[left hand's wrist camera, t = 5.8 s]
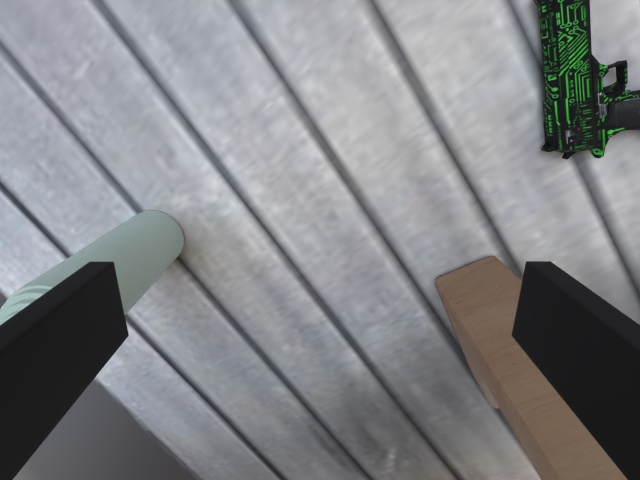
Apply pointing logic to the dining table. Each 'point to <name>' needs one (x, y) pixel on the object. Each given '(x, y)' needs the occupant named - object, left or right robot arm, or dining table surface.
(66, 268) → the bottle
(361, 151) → the dining table surface
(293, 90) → the dining table surface
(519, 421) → the decorative block
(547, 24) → the handgun
